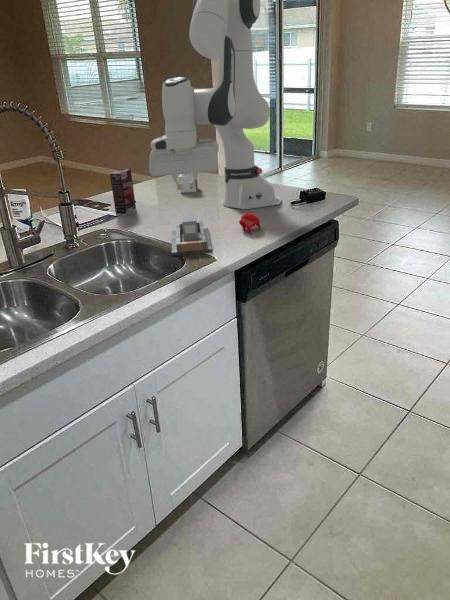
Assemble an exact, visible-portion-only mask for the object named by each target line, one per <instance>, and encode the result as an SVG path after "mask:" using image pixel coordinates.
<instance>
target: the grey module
mask: <svg viewBox="0 0 450 600" xmlns="http://www.w3.org/2000/svg"><path fill="white" fill-rule="evenodd" d="M197 222H198V220H197V214H196V213H193V214H182V215H181V223H182V226H183V236H184V242H192V241H198V231H197Z"/></svg>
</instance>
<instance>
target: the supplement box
mask: <svg viewBox="0 0 450 600" xmlns="http://www.w3.org/2000/svg"><path fill="white" fill-rule="evenodd" d="M109 177H110V184H111V190H112V198H113V203H114V210H115V211H114V212H115V216H119V217H121V216H122V217H124V216H126V217H127V216H128V215H130V214H131V213H133V212H134V211H137V205H136V199H135V192H134V191H135V190H134V185H133V184H134V183H133V177H132V169H129V168H128V169H127V168H120V169H118V170H116V171H114V172H112V173H109Z"/></svg>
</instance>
